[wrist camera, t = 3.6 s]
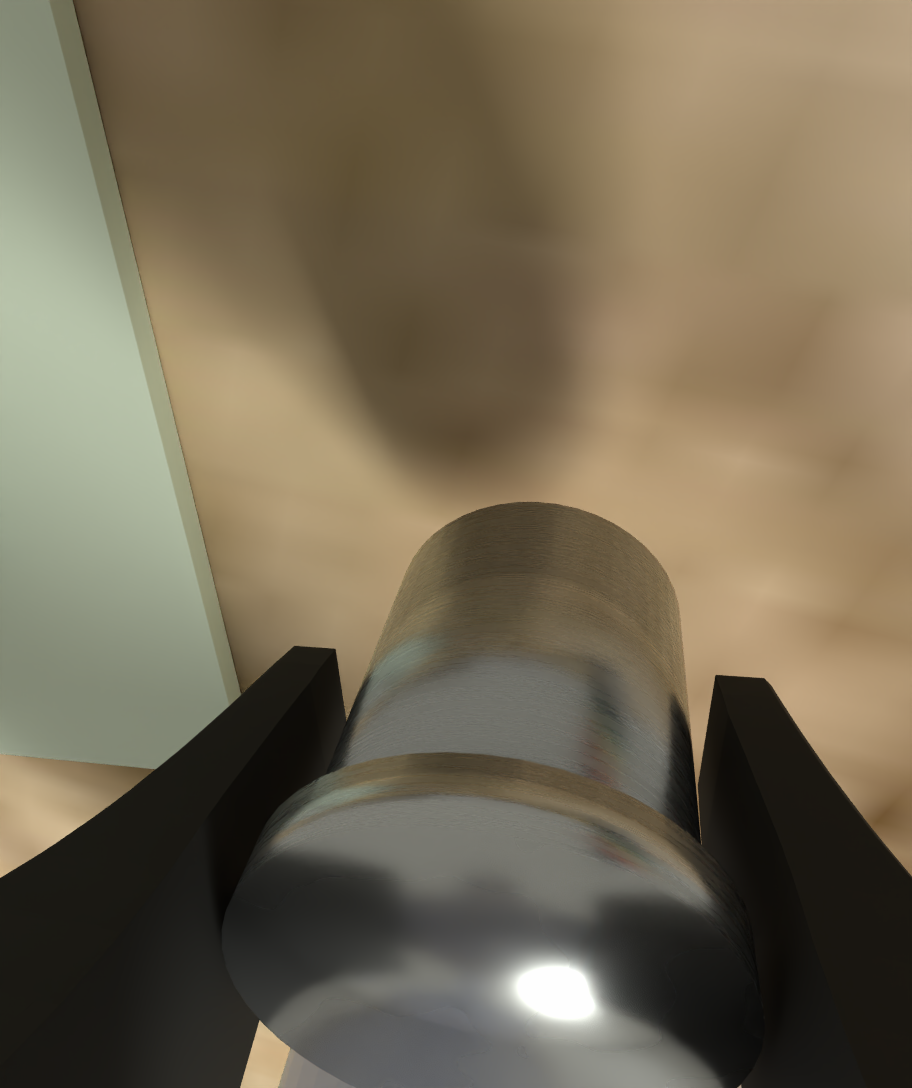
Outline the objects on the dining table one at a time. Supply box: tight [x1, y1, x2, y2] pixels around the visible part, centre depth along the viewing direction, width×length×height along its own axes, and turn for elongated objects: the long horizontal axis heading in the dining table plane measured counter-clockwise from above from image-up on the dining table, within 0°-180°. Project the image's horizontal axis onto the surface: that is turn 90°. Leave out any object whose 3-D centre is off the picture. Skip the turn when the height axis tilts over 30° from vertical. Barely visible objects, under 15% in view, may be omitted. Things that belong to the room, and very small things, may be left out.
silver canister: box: [222, 502, 765, 1088], centre depth 10 cm, size 5×5×6 cm
